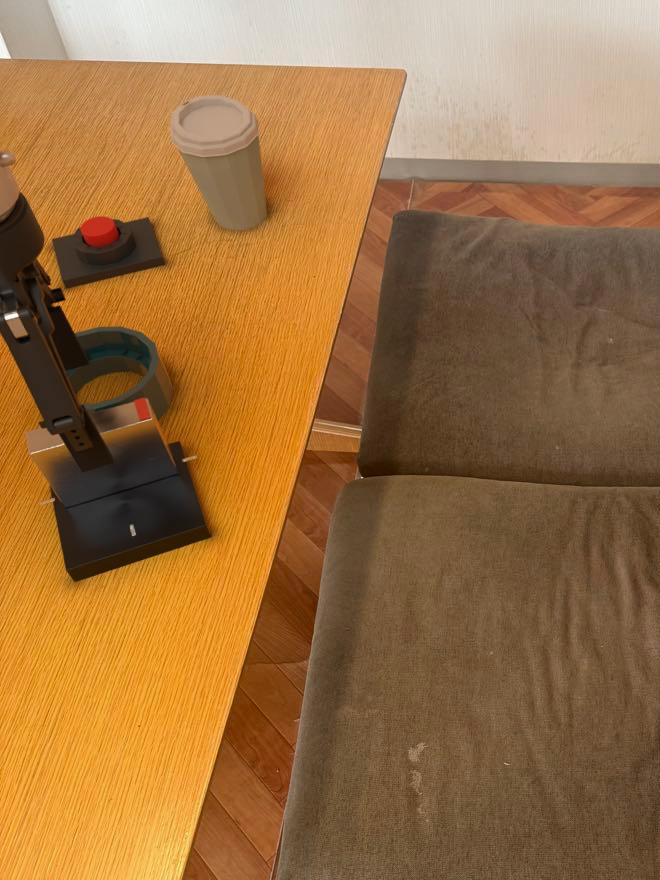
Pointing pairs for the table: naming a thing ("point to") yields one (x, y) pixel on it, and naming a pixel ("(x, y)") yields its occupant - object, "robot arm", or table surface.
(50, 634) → the table surface
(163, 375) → the teal ring
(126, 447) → the reflective bent rectangular block
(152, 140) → the table surface
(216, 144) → the disposable coffee cup
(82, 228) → the button
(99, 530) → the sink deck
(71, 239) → the button box
